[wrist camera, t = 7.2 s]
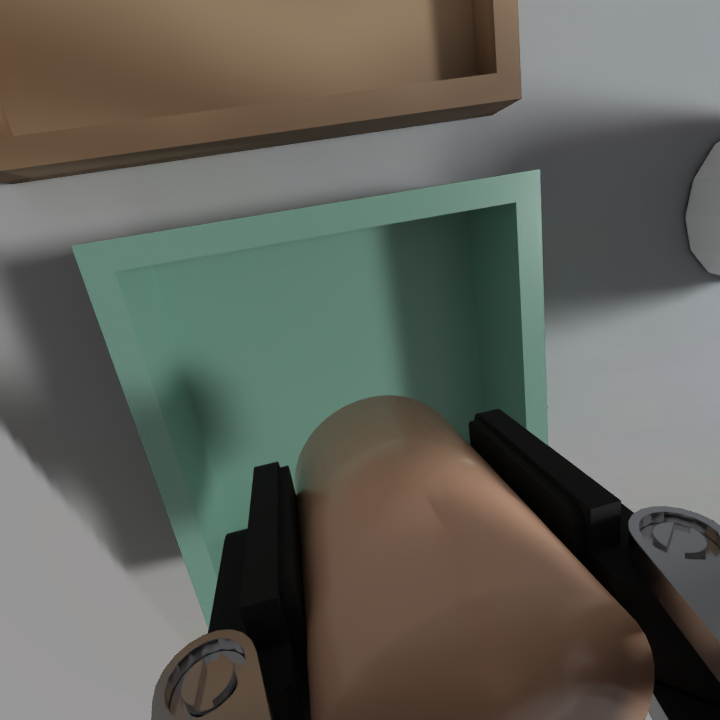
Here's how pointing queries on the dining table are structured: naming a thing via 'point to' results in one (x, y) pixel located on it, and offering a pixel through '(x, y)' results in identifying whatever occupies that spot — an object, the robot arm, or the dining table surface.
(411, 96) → the tray
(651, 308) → the dining table surface
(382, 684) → the brown smooth lump
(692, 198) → the white cup
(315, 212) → the bin
